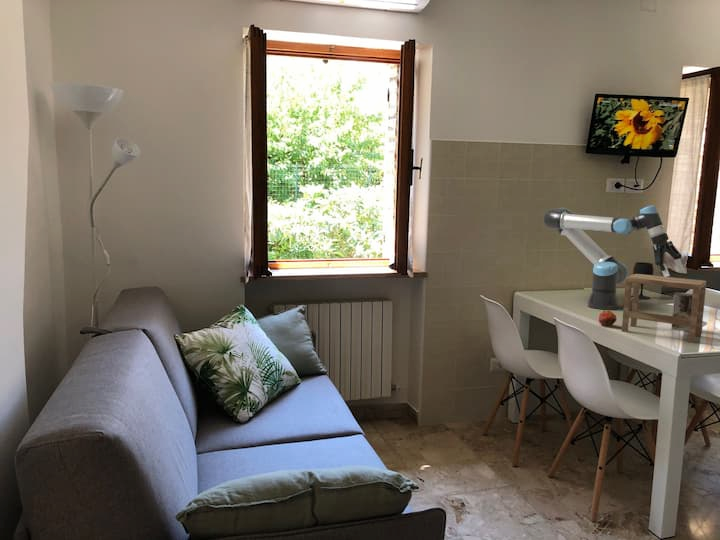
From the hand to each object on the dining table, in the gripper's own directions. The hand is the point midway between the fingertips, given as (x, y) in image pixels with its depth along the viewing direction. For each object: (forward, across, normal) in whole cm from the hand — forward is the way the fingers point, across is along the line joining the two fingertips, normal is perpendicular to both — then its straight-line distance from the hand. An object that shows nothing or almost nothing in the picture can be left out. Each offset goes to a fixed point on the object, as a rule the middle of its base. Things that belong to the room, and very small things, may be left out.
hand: (674, 273), depth 292 cm
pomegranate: (+12, -59, +4) cm, 60 cm away
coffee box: (+24, -35, -14) cm, 45 cm away
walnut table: (+21, -51, -14) cm, 57 cm away
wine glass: (+8, +19, +36) cm, 41 cm away
